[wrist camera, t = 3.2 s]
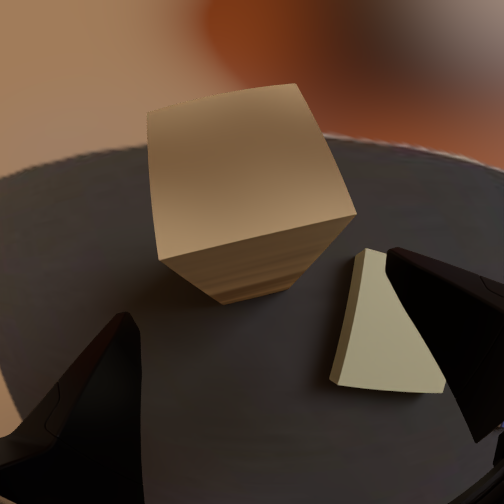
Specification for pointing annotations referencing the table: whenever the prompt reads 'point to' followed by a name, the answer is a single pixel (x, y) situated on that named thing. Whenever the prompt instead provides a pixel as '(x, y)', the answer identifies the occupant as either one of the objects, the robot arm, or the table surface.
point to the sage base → (381, 337)
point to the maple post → (243, 191)
